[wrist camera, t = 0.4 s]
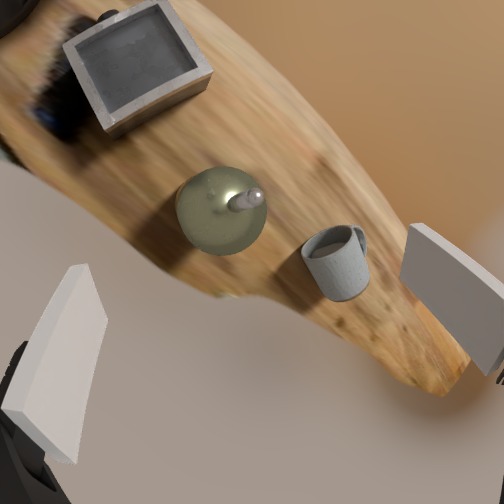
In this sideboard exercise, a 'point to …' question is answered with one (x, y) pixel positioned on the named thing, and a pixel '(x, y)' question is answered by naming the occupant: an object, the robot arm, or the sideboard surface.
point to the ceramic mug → (338, 261)
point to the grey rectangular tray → (137, 65)
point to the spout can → (221, 210)
